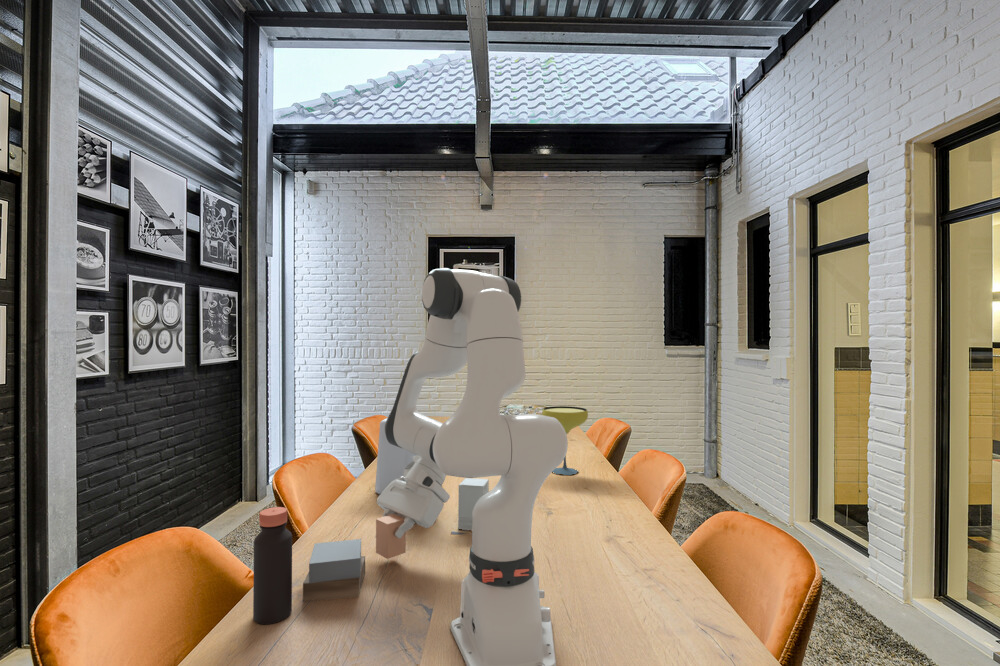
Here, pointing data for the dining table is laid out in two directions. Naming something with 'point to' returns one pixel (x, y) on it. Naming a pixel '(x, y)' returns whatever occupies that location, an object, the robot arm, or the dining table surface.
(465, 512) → the supplement box
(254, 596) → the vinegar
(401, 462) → the plastic bottle
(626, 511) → the dining table surface
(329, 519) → the dining table surface
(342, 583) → the tower base block
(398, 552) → the terracotta block
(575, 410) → the cocktail glass
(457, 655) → the dining table surface
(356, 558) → the tower top block
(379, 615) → the dining table surface
